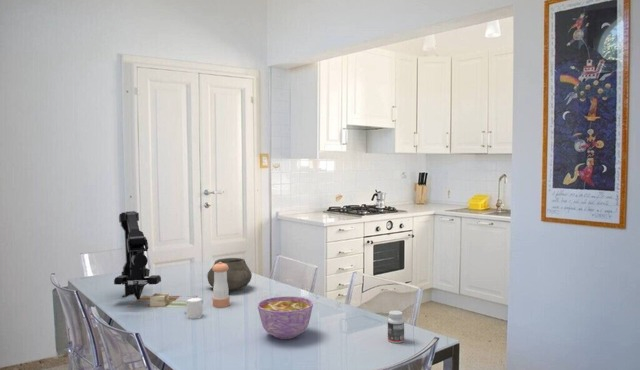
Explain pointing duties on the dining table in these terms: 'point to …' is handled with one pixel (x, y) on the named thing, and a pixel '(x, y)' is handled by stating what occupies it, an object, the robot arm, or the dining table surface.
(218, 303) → the salt shaker
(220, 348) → the dining table surface
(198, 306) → the white cylinder
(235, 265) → the clay pot
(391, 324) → the pill bottle
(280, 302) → the bowl of food
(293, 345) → the dining table surface
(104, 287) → the dining table surface
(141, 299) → the trap deck
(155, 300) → the birch block
